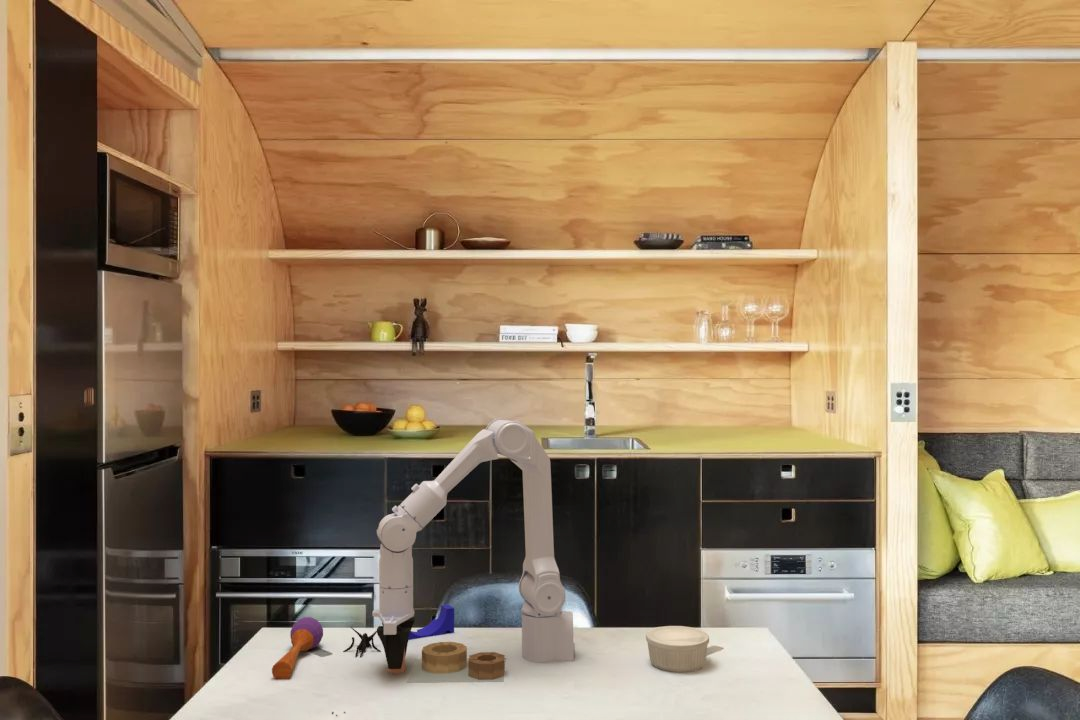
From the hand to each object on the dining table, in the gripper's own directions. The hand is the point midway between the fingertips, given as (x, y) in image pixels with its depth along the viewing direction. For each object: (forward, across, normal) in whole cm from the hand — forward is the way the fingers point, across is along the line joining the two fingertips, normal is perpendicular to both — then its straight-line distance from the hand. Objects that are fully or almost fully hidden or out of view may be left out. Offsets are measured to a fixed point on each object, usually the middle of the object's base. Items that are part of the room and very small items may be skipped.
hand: (396, 665), depth 150 cm
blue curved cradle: (+2, -21, +2) cm, 21 cm away
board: (+2, 0, +10) cm, 11 cm away
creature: (+2, -10, -8) cm, 13 cm away
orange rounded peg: (+2, 0, 0) cm, 2 cm away
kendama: (+2, -9, -19) cm, 21 cm away
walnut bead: (+1, +2, +16) cm, 16 cm away
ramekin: (+2, -5, +49) cm, 49 cm away
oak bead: (+1, -2, +8) cm, 8 cm away
